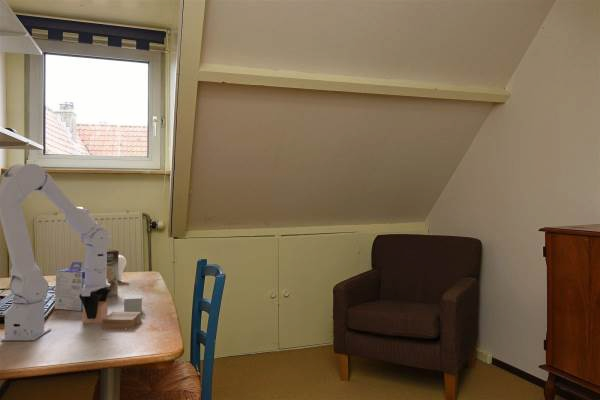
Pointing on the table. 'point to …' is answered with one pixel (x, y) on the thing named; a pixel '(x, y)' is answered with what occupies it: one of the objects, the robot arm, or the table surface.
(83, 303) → the robot arm
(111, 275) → the coffee box
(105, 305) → the terracotta cube
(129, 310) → the grey cube
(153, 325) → the table surface
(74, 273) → the ink cartridge box
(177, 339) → the table surface
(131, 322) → the walnut block
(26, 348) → the table surface
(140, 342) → the table surface
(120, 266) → the lightbulb
